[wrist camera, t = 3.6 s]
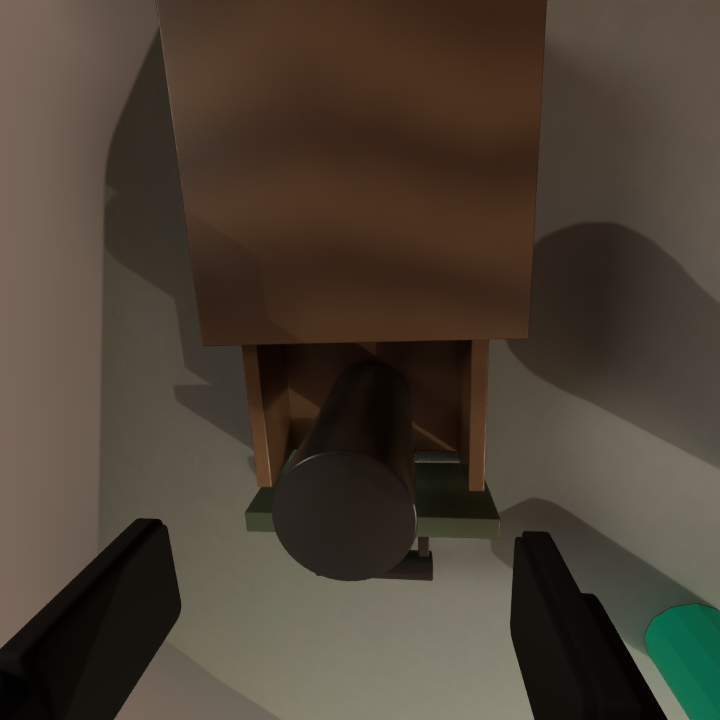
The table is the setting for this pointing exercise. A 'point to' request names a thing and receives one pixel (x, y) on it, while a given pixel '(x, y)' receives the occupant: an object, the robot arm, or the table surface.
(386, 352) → the drawer
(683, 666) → the candle
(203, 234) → the cabinet
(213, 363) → the table surface
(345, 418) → the cylinder
